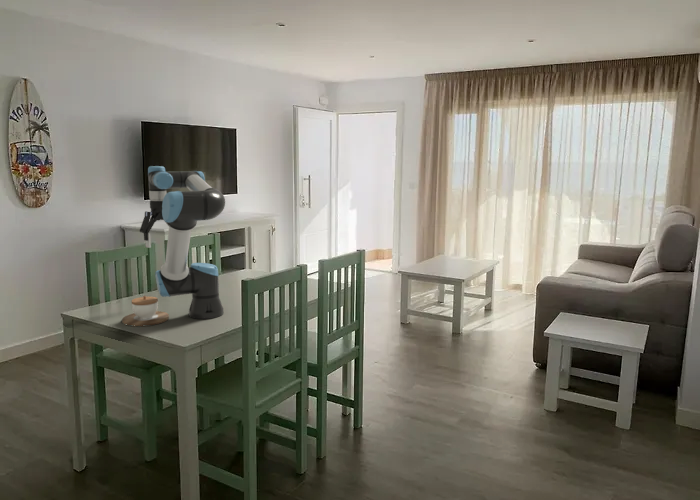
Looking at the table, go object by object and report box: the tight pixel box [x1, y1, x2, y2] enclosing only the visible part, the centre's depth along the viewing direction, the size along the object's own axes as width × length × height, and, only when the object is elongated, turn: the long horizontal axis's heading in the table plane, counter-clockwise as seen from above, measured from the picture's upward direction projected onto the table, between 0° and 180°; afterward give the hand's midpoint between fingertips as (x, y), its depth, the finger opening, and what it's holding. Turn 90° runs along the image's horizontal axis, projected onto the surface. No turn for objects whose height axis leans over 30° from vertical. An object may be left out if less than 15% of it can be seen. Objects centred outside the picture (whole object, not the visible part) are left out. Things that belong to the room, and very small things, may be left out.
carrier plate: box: [121, 310, 170, 327], centre depth 236 cm, size 19×19×1 cm
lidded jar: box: [131, 295, 159, 319], centre depth 235 cm, size 11×11×9 cm
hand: (160, 245), depth 254 cm, fingers open, 13 cm apart
